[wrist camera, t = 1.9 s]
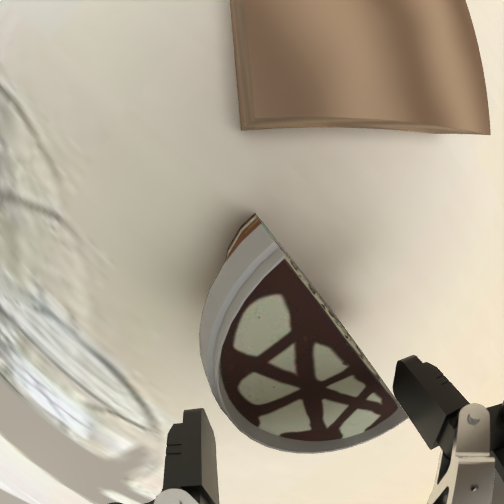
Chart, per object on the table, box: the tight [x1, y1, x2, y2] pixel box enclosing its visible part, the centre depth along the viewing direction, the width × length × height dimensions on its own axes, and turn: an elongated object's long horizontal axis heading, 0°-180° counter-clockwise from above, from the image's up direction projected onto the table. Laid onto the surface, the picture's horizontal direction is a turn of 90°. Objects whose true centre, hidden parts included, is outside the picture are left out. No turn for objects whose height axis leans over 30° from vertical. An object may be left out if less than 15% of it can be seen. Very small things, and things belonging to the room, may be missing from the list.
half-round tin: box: [199, 214, 409, 454], centre depth 15 cm, size 12×6×10 cm, turn 38°
